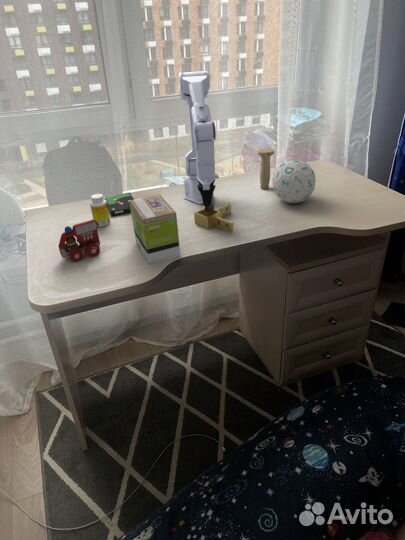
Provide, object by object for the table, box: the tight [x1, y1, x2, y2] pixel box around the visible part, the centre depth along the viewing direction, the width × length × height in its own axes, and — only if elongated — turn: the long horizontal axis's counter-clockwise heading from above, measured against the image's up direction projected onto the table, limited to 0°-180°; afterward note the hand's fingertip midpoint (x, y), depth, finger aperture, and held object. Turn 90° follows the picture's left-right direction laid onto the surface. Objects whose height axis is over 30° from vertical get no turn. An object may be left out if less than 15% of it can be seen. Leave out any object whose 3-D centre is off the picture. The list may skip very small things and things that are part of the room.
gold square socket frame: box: [193, 202, 235, 234], centre depth 137 cm, size 14×14×4 cm
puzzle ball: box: [272, 159, 317, 204], centre depth 147 cm, size 15×15×15 cm
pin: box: [203, 190, 215, 211], centre depth 134 cm, size 4×4×7 cm
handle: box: [256, 147, 275, 190], centre depth 159 cm, size 5×6×15 cm
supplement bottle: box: [89, 193, 111, 228], centre depth 139 cm, size 6×6×10 cm
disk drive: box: [104, 192, 135, 217], centre depth 153 cm, size 10×3×15 cm
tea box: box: [129, 193, 181, 265], centre depth 121 cm, size 15×10×15 cm, turn 23°
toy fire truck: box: [57, 219, 101, 263], centre depth 121 cm, size 7×12×10 cm, turn 120°
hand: (207, 202), depth 135 cm, fingers closed on pin, 4 cm apart
